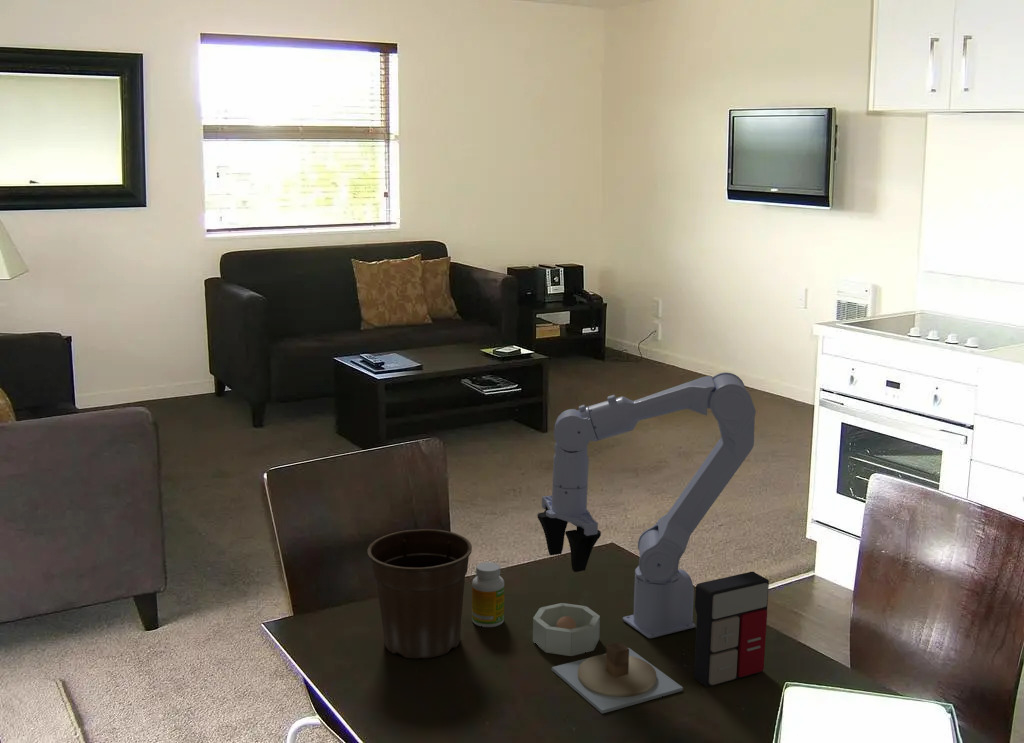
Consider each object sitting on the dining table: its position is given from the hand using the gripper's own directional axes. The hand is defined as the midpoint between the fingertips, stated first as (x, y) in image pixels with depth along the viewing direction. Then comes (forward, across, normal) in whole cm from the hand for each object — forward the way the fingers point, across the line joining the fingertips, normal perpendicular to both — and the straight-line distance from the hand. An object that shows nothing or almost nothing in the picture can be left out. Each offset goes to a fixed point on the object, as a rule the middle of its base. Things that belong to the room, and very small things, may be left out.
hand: (566, 562), depth 172 cm
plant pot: (+11, -4, -24) cm, 27 cm away
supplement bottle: (+11, -6, -12) cm, 17 cm away
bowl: (+10, +6, -4) cm, 13 cm away
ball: (+8, +6, -4) cm, 11 cm away
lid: (+10, +21, -3) cm, 23 cm away
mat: (+10, +21, -4) cm, 23 cm away
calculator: (+10, +27, +12) cm, 32 cm away
